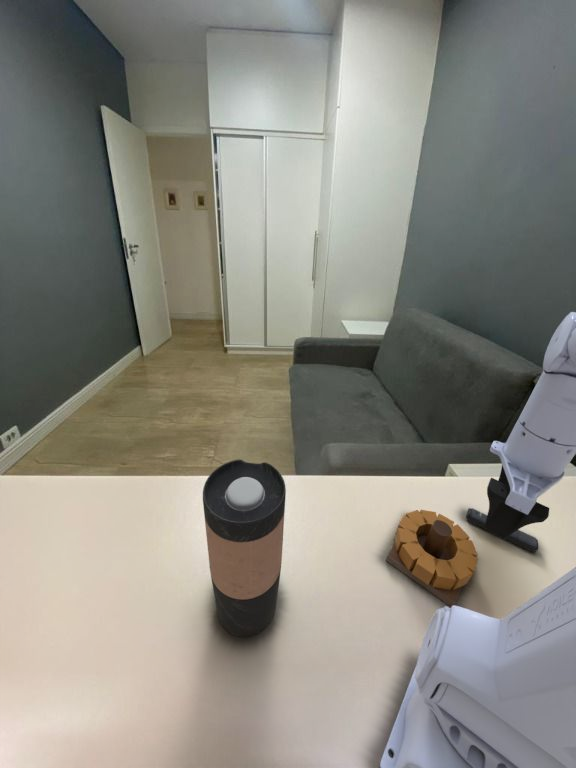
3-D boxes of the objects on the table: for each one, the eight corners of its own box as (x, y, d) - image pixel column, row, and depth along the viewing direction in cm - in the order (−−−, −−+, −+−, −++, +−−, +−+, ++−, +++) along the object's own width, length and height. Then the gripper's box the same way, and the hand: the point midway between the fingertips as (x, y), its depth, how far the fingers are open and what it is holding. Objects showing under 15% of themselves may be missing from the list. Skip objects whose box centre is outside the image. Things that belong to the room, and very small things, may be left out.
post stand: (452, 608, 38) (471, 578, 35) (385, 560, 43) (396, 529, 40) (469, 555, 44) (487, 526, 41) (409, 519, 49) (420, 489, 46)
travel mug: (236, 658, 33) (229, 542, 23) (203, 596, 38) (186, 480, 28) (291, 608, 37) (304, 493, 27) (255, 559, 42) (256, 447, 32)
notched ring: (460, 607, 37) (467, 597, 36) (383, 554, 43) (387, 543, 41) (477, 548, 44) (484, 538, 43) (409, 509, 50) (413, 498, 48)
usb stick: (535, 542, 47) (539, 536, 46) (535, 556, 45) (540, 549, 44) (467, 510, 51) (470, 504, 51) (464, 521, 50) (467, 515, 49)
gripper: (515, 391, 40) (478, 467, 47) (495, 443, 30) (452, 530, 37) (584, 412, 37) (533, 492, 43) (587, 481, 27) (520, 570, 33)
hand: (500, 512), depth 40 cm, fingers open, 7 cm apart
